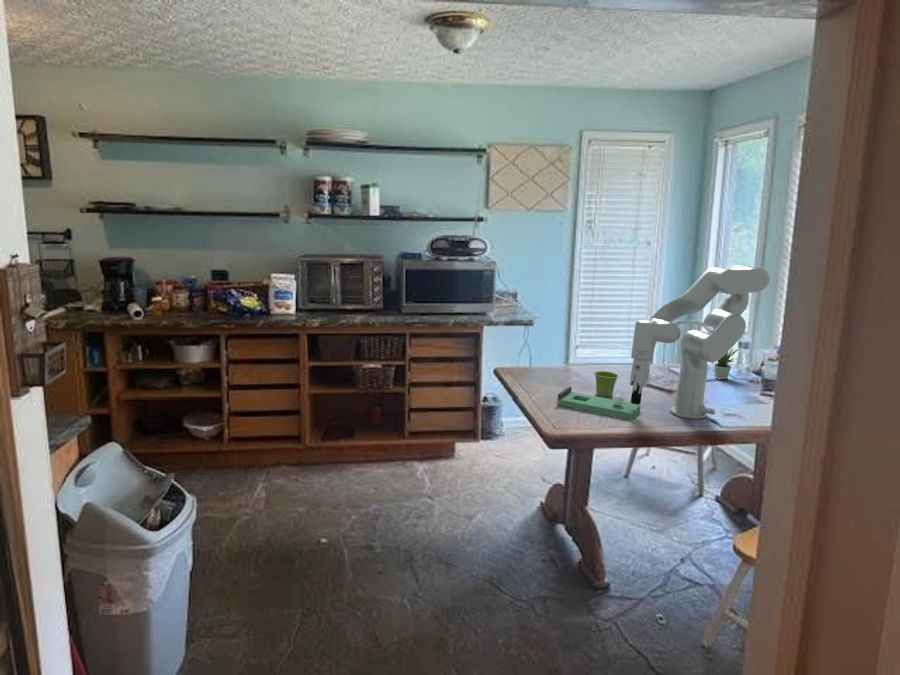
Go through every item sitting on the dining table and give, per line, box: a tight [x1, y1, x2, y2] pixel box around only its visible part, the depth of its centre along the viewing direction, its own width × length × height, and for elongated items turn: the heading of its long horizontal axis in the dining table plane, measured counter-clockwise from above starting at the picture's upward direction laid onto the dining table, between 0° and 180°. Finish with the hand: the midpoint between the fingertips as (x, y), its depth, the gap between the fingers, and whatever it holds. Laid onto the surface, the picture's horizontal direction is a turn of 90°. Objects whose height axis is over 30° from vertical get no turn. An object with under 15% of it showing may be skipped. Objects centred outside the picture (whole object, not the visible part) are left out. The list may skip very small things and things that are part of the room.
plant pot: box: [593, 370, 619, 398], centre depth 262 cm, size 9×9×9 cm
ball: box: [612, 394, 625, 406], centre depth 241 cm, size 4×4×4 cm
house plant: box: [713, 347, 741, 380], centre depth 298 cm, size 14×14×16 cm
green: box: [556, 386, 641, 421], centre depth 244 cm, size 28×13×4 cm, turn 61°
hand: (635, 403), depth 237 cm, fingers closed
